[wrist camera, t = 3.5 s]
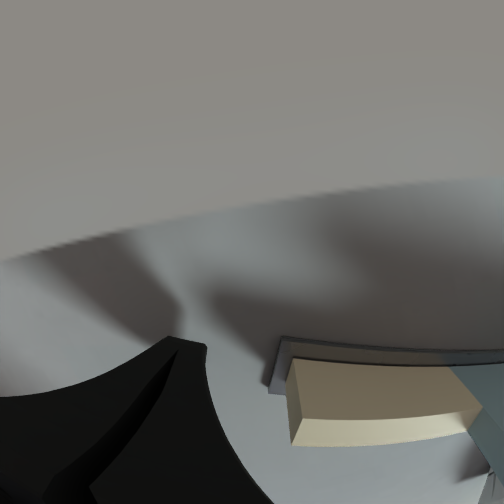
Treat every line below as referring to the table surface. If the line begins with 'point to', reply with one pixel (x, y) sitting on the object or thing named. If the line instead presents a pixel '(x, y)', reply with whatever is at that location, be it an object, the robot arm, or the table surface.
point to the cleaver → (396, 405)
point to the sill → (370, 357)
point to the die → (492, 490)
